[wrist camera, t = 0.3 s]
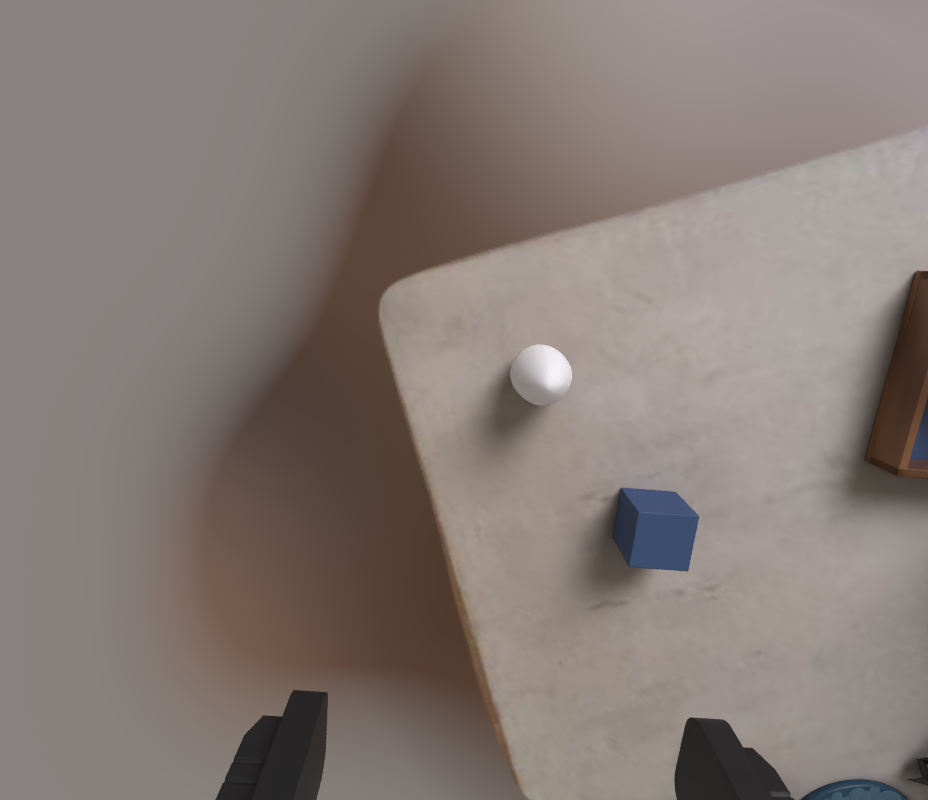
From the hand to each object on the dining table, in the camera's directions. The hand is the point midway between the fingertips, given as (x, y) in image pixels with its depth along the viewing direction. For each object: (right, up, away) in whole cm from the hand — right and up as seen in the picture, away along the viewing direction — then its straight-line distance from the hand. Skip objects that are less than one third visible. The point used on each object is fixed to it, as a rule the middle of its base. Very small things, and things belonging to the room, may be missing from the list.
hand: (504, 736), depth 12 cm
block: (+12, -1, +28) cm, 31 cm away
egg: (+4, +10, +26) cm, 28 cm away
